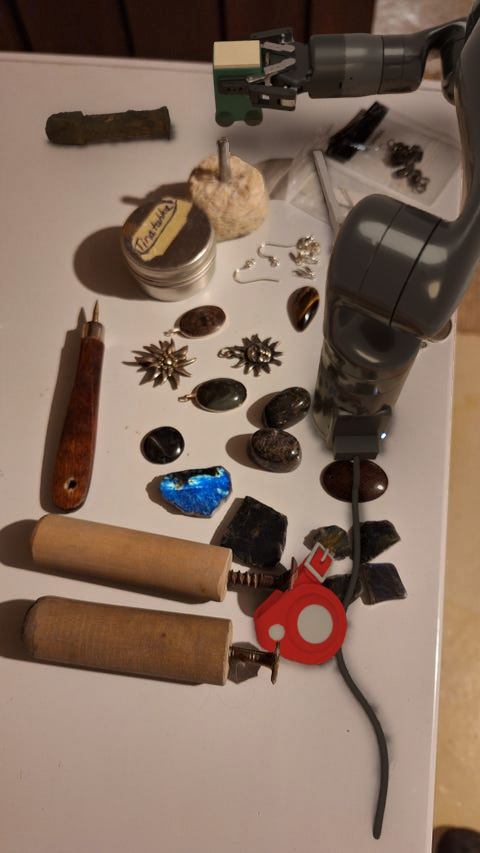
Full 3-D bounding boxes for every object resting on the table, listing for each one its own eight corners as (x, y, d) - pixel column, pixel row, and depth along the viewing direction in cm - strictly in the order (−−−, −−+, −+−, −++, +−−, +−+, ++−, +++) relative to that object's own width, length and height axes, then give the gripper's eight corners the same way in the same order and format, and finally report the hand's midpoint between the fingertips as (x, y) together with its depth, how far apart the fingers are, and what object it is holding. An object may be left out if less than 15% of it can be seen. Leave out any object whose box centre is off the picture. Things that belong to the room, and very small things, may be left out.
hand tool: (172, 123, 98) (168, 96, 94) (172, 141, 97) (167, 115, 93) (51, 129, 99) (41, 103, 95) (49, 148, 97) (39, 123, 93)
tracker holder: (362, 656, 65) (271, 679, 62) (345, 651, 69) (258, 672, 66) (338, 538, 67) (249, 555, 64) (322, 540, 71) (238, 556, 69)
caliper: (344, 262, 87) (349, 230, 81) (336, 262, 87) (341, 231, 81) (319, 153, 95) (323, 117, 89) (312, 153, 95) (315, 118, 89)
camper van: (263, 126, 91) (263, 64, 82) (215, 128, 91) (210, 66, 82) (262, 101, 93) (262, 38, 84) (216, 103, 93) (211, 40, 84)
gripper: (343, 3, 84) (216, 8, 85) (351, 77, 79) (215, 82, 79) (337, 57, 91) (219, 61, 92) (344, 128, 85) (219, 132, 86)
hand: (218, 70), depth 85 cm, fingers closed on camper van, 5 cm apart
